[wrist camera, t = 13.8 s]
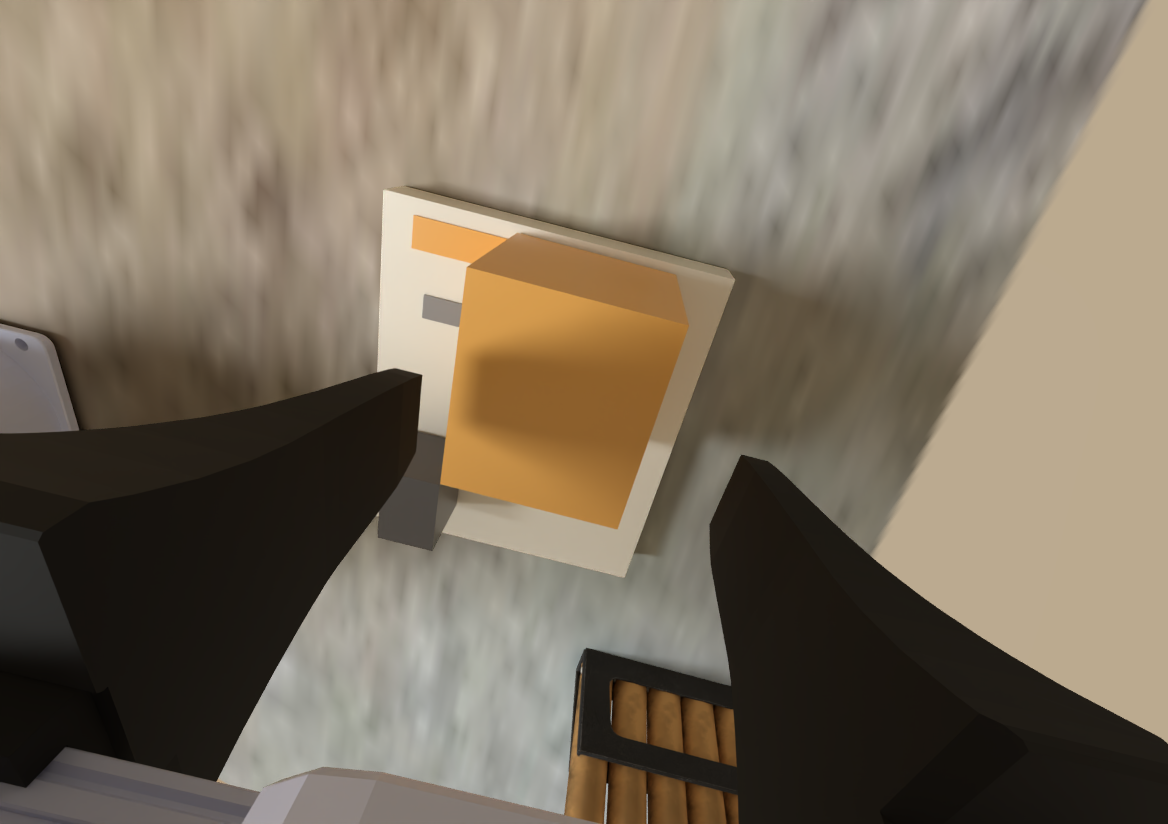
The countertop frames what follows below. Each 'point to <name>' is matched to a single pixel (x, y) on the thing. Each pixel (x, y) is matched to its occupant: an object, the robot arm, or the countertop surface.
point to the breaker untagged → (419, 499)
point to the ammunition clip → (650, 745)
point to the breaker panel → (429, 342)
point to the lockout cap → (559, 377)
